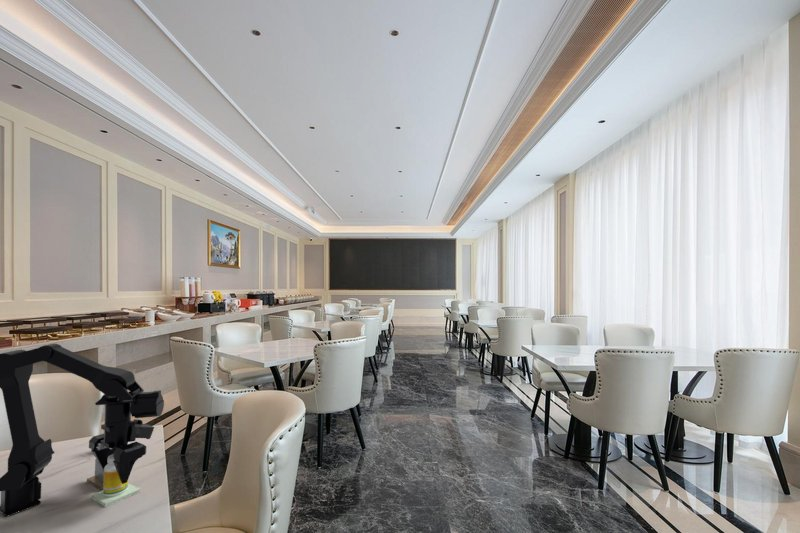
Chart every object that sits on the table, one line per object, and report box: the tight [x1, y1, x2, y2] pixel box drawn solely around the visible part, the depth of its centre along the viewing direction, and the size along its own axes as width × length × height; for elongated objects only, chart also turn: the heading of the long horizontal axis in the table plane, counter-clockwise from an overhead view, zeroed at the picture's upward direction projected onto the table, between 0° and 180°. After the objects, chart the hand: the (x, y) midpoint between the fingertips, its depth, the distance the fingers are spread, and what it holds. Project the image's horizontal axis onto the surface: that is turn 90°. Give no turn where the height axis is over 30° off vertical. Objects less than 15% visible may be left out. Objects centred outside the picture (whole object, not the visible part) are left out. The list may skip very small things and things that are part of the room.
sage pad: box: [90, 482, 141, 508], centre depth 102 cm, size 8×8×1 cm
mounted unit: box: [86, 458, 104, 491], centre depth 109 cm, size 6×10×6 cm, turn 59°
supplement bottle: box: [103, 454, 129, 497], centre depth 102 cm, size 5×5×10 cm
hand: (116, 478), depth 102 cm, fingers open, 9 cm apart
